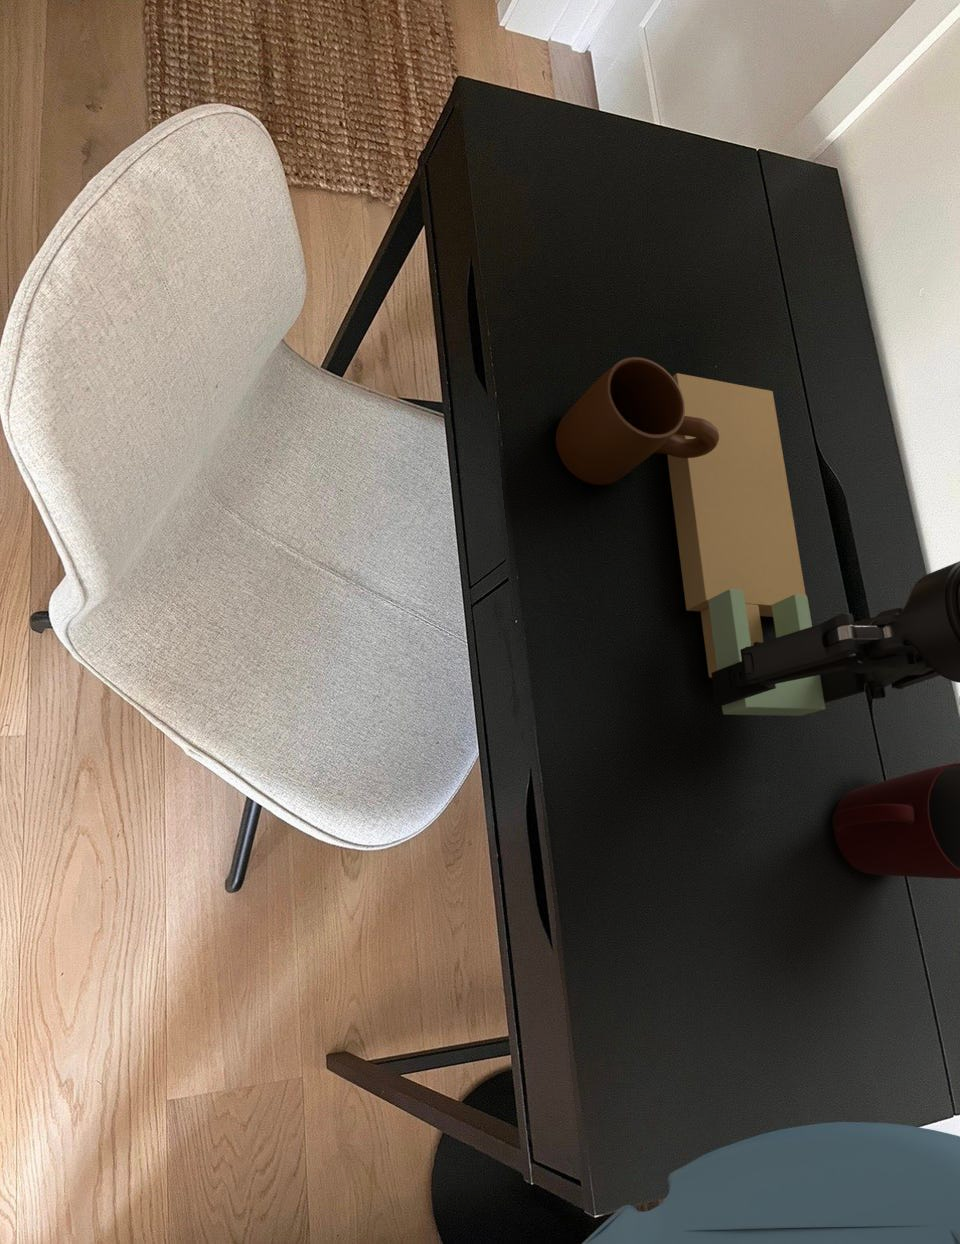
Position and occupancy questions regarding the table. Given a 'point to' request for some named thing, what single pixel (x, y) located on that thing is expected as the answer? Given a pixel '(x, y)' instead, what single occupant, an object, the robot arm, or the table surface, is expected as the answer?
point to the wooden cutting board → (734, 506)
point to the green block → (735, 636)
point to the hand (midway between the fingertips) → (760, 690)
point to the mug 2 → (903, 825)
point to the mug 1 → (629, 423)
